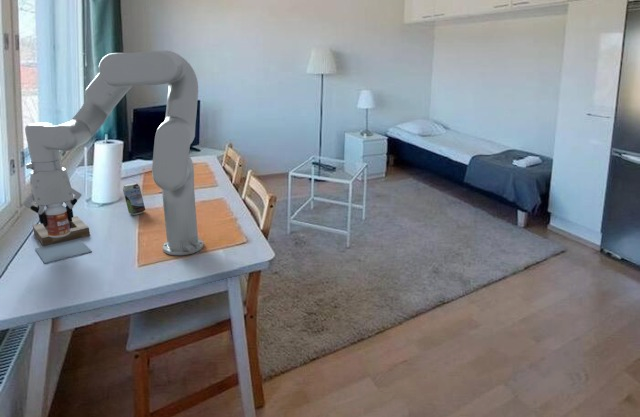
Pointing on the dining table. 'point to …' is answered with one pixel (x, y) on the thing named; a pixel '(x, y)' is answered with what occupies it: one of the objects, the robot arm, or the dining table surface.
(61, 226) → the pill bottle
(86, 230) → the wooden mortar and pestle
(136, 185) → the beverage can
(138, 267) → the dining table surface
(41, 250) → the mat
